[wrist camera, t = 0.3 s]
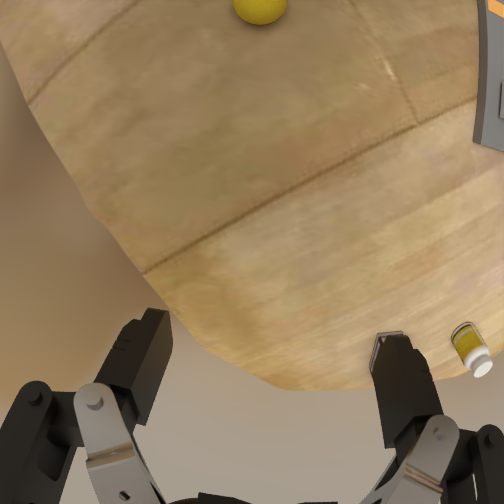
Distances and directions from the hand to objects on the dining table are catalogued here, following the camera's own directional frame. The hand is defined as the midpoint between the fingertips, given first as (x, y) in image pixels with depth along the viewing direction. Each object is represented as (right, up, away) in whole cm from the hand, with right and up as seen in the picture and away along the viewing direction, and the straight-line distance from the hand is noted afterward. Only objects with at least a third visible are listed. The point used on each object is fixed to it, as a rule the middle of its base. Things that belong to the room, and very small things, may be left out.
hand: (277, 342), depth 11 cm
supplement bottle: (+38, -12, +37) cm, 54 cm away
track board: (+34, +30, +15) cm, 48 cm away
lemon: (0, +30, +17) cm, 35 cm away
